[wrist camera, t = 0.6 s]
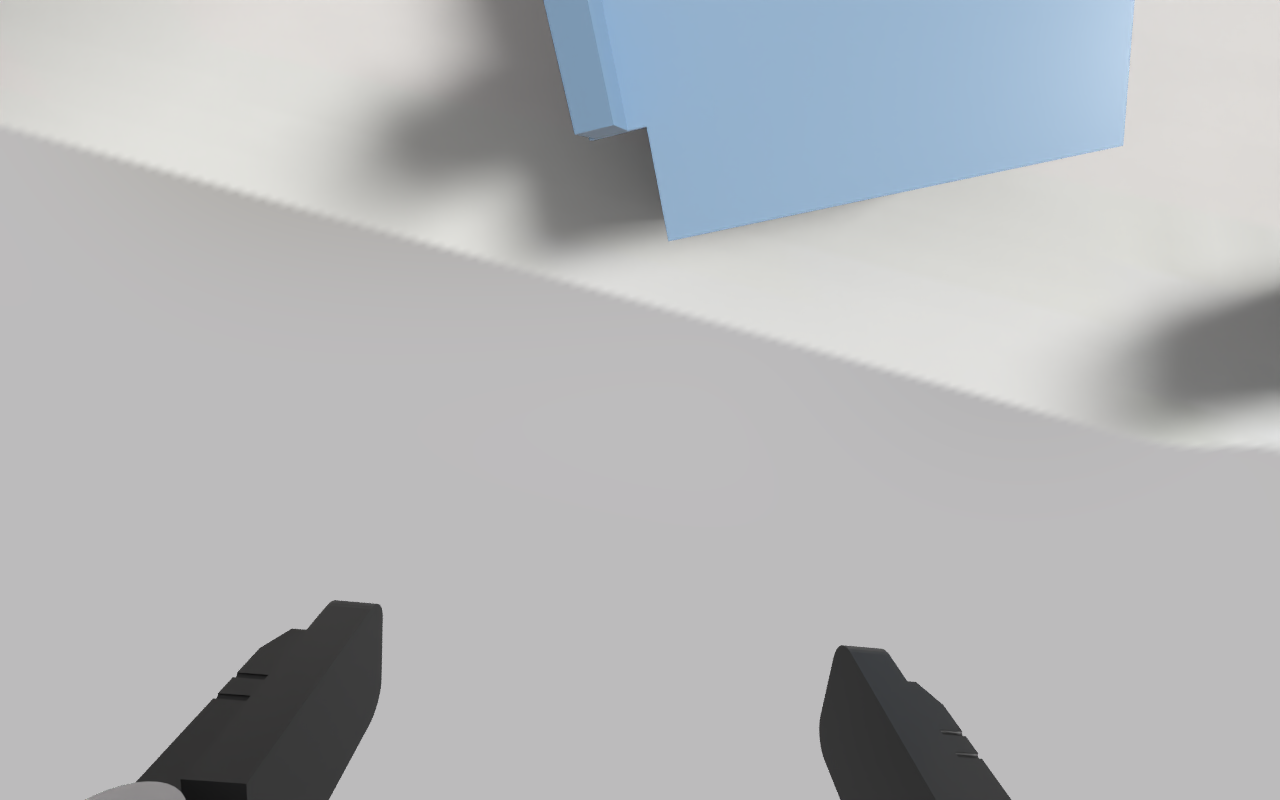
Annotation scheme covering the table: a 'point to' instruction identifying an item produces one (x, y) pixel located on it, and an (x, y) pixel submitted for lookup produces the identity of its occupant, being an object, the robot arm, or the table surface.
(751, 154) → the tub lid
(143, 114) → the table surface
